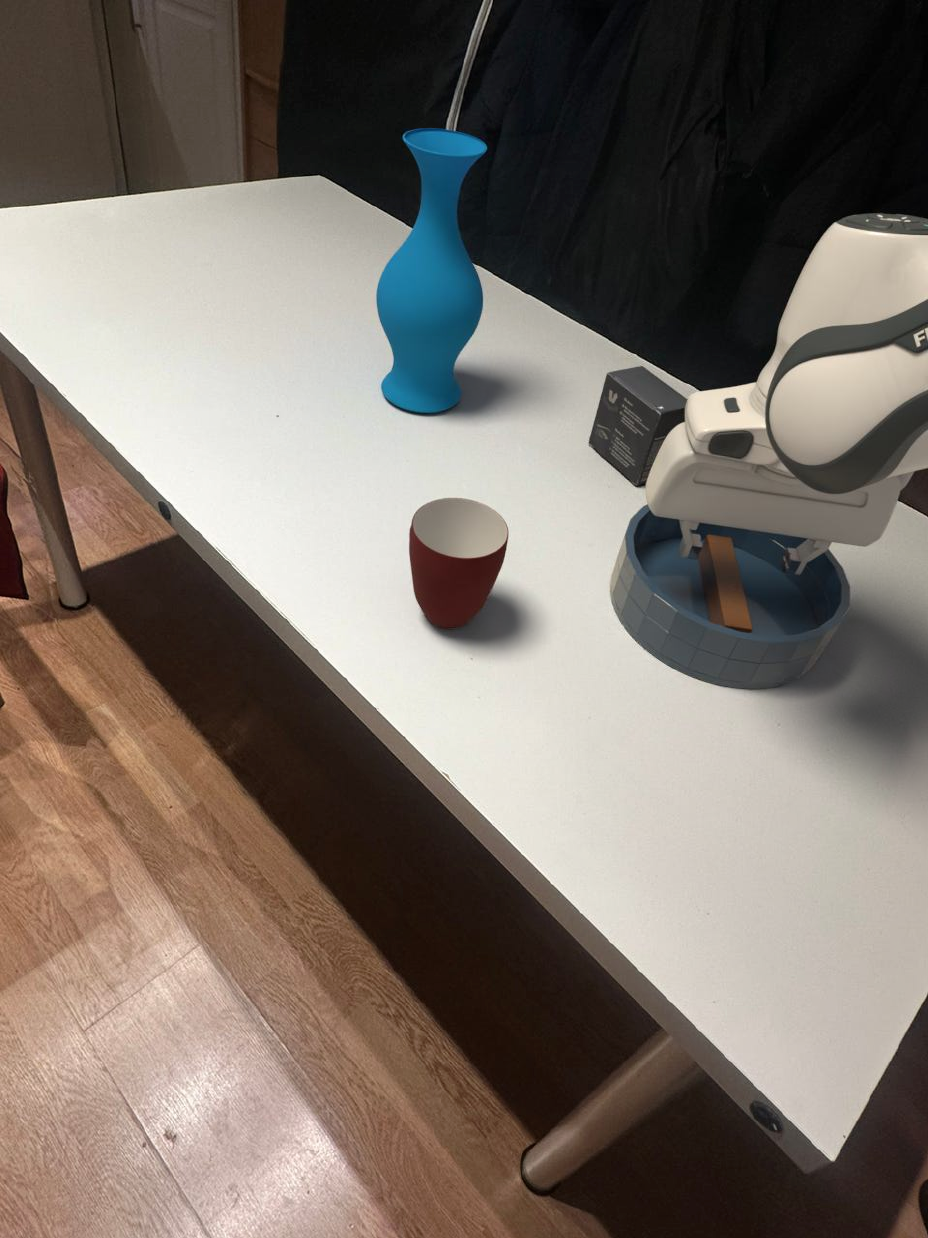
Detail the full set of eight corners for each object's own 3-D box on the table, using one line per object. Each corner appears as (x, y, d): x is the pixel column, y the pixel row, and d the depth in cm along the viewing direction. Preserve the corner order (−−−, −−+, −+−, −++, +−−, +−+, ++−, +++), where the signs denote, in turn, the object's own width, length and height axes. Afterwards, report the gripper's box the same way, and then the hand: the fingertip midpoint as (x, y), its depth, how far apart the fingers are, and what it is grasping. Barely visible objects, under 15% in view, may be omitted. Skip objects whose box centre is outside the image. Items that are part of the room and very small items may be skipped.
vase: (473, 377, 106) (508, 134, 86) (464, 428, 97) (501, 169, 77) (381, 362, 106) (395, 115, 86) (363, 412, 97) (374, 148, 77)
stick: (697, 556, 83) (707, 533, 81) (721, 560, 83) (731, 537, 81) (713, 648, 74) (725, 624, 72) (740, 652, 74) (753, 629, 72)
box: (672, 477, 95) (698, 404, 88) (635, 487, 92) (659, 413, 86) (622, 435, 100) (643, 363, 93) (586, 444, 98) (605, 370, 91)
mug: (368, 589, 75) (372, 501, 68) (435, 558, 79) (446, 472, 72) (441, 660, 70) (455, 572, 63) (509, 622, 74) (529, 536, 67)
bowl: (847, 602, 82) (875, 557, 78) (780, 727, 69) (810, 681, 65) (663, 514, 89) (680, 468, 85) (571, 612, 76) (585, 563, 72)
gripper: (914, 427, 68) (841, 556, 77) (670, 391, 67) (627, 525, 77) (940, 469, 63) (859, 601, 73) (678, 430, 63) (631, 568, 72)
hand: (738, 562), depth 75 cm, fingers open, 8 cm apart
